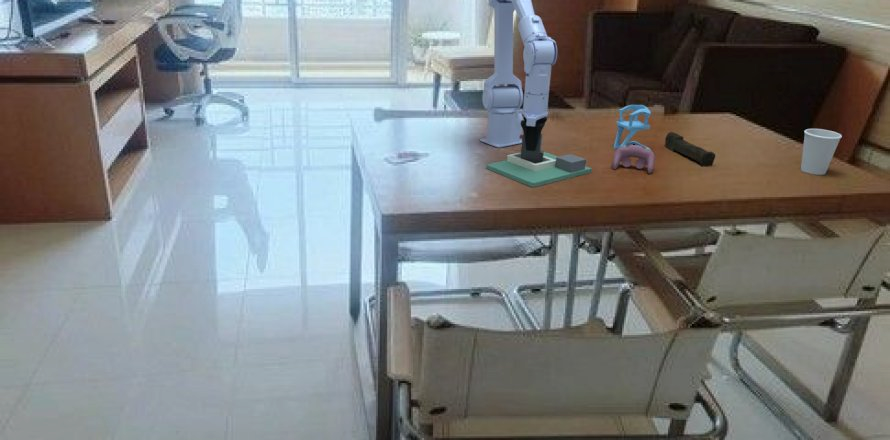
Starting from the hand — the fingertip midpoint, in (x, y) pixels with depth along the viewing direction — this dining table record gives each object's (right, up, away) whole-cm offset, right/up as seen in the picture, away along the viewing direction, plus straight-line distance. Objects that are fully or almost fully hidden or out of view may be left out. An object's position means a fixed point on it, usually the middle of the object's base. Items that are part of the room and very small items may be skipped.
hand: (531, 148), depth 162 cm
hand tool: (+43, -1, +16) cm, 46 cm away
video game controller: (+25, -5, +4) cm, 26 cm away
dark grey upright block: (0, -3, +1) cm, 4 cm away
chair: (+29, +2, +20) cm, 36 cm away
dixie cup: (+72, -5, +7) cm, 73 cm away
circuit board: (+2, -5, 0) cm, 6 cm away
